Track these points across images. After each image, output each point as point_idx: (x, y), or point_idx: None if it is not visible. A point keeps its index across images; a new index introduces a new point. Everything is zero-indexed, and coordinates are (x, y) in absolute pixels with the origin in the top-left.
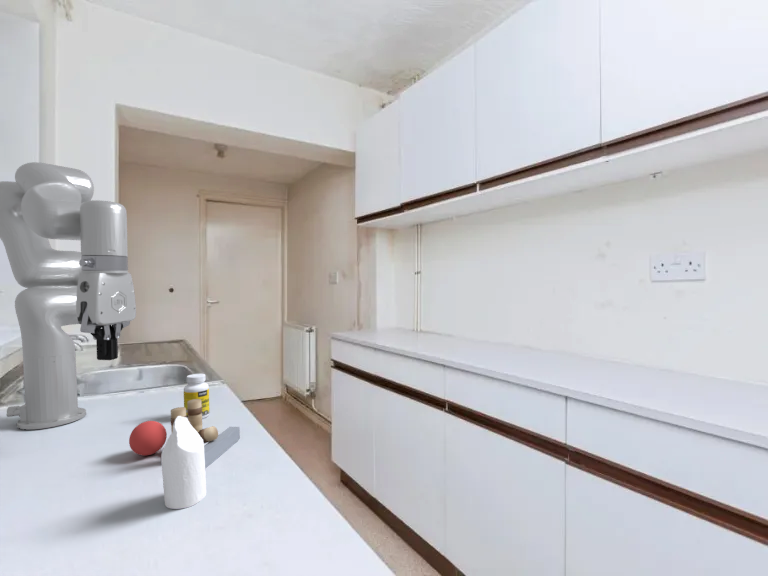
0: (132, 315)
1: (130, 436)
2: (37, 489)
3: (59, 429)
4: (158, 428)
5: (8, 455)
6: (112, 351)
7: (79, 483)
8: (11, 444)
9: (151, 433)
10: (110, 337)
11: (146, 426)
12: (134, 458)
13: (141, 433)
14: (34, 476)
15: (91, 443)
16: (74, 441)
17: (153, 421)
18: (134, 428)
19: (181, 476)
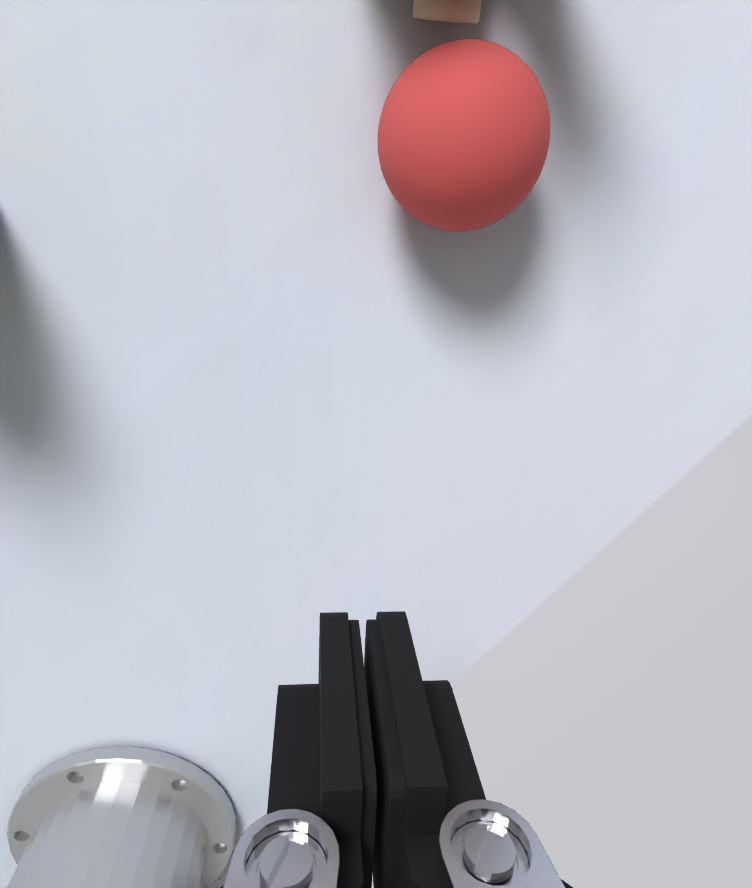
0: None
1: (521, 199)
2: (707, 370)
3: (210, 729)
4: (488, 51)
5: None
6: (401, 663)
7: (686, 255)
8: None
9: (528, 69)
10: (441, 835)
11: (523, 105)
12: None
13: (545, 119)
14: (611, 463)
15: (337, 500)
16: (321, 580)
17: (461, 104)
18: (501, 196)
19: None
